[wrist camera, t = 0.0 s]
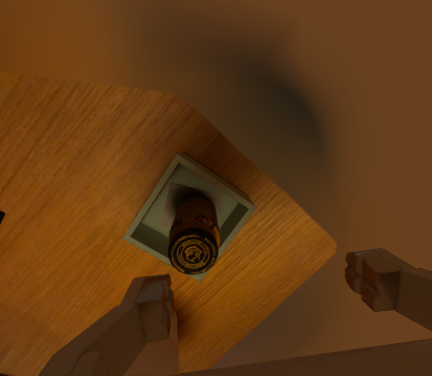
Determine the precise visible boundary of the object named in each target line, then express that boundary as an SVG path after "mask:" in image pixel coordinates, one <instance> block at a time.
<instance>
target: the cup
mask: <svg viewBox="0 0 432 376" xmlns="http://www.w3.org/2000/svg"><path fill="white" fill-rule="evenodd" d="M170 320H171V328H170V333H169V339H167V340H161V341H155V342H149V343H146V346H145V347H144V348H143V350H142V351H141V352H140V354H139V355H138V356H137V358H136V359H135V360H134V362H133V363H132V364H131V366H130V367H129V368H128V370H127V371H126V372H125V374H124V375H123V376H166V375H173V374H179V355H178V332H177V315H176V313H175V311H174V310H173V315H172V316H171V317H170Z"/></svg>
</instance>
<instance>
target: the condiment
mask: <svg viewBox="0 0 432 376" xmlns="http://www.w3.org/2000/svg"><path fill="white" fill-rule="evenodd" d="M223 199H224V197H223V196H220V195H216V194H213V193H209V192H206V191H202V190H199V189H195V188H191V187H188V186H184V185H181V184H177V183H173V182H170V186H169V190H168V194H167V198H166V202H165V205H164V209H163V213H162V217H161V220H160V224H159V225H161V226H165V227H169V228H171V229H170V231H169V237H168V241H169V246H168V258H169V260H170V262H171V265H172V266H173V267H175V268H176V269H177V270H178V271H179V272H182V273H184V274H189V275H197V274H202V273H205V272H206V271H208V270H209V269H210V268H211V267H212V266H213V265H214V263H215V262H216V260H217V257H218V253H219V252H218V250H219V249H218V247H219V244H220V233H219V232H220V231H219V226H218V221H217V217H218V214H219V211H220V208H221V205H222V202H223Z"/></svg>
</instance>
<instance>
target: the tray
mask: <svg viewBox="0 0 432 376" xmlns="http://www.w3.org/2000/svg"><path fill="white" fill-rule="evenodd" d="M170 182H173V183H177V184H181V185H184V186H188V187H191V188H195V189H199V190H202V191H206V192H209V193H213V194H216V195H220V196H223V197H224V199H223V202H222V205H221V208H220V211H219V214H218V217H217V221H218V226H219V231H220V232H219V233H220V244H219V247H218V249H219V250H218V252H219V253H218V257H217V259H218V258H219V257H220V255H221V254H222V253H223V252H224V250H225V249H226V248H227V246H228V245H229V244H230V242H231V241H232V240H233V238H234V237H235V236H236V234H237V233H238V232H239V230H240V229H241V228H242V226H243V225H244V224H245V222H246V221H247V220H248V219H249V217H250V216H251V215H252V213H253V212H254V210H255V209H256V208H257V207H256V206H255V205H254V203H253V202H252V201H251V200H250V198H249V197H248V196H247V195H245V194H244V193H242V192H241V191H239V190H238V189H236V188H235V187H233V186H232V185H230V184H229V183H227V182H226V181H225V180H223V179H222V178H220V177H219V176H217V175H216V174H214V173H213V172H211V171H210V170H208V169H207V168H205V167H204V166H202V165H201V164H199V163H198V162H196V161H195V160H193V159H192V158H191V157H189V156H188V155H186V154H185V153H183V152H182V151H181V152H179V153H178V154H176V156H175V157H174V159H173V160H172V162H171V163H170V165H169V167H168V168H167V170H166V171H165V173H164V174H163V176H162V177H161V179H160V180H159V182H158V184H157V185H156V187H155V188H154V190H153V191H152V193H151V194H150V196H149V197H148V199H147V201H146V202H145V204H144V205H143V207H142V208H141V210H140V211H139V213H138V214H137V216H136V218H135V219H134V221H133V222H132V224H131V225H130V227H129V228H128V230H127V231H126V233H125V235H124V236H123V238H122V239H124V240H126V241H127V242H129V243H131V244H133V245H135V246H136V247H138V248H140V249H142V250H144V251H145V252H147V253H149V254H151V255H153V256H155V257H156V258H158V259H160V260H162V261H164V262H165V263H167V264H169V265H171V262H170V260H169V258H168V246H169V241H168V237H169V231H170V229H171V228H169V227H165V226H161V225H159V224H160V220H161V217H162V213H163V209H164V205H165V202H166V198H167V194H168V190H169V186H170ZM216 261H217V260H216ZM171 266H172V265H171ZM174 268H175V267H174ZM210 269H211V268H210ZM210 269H209V270H210ZM209 270H208V271H209ZM208 271H206V272H205V273H202V274H197V275H189V274H187V275H189V276H191V277H193V278H194V279H196V280H198V281H200V282H201V281H202V279H203V278H204V277H205V275H206V274H207V273H208Z"/></svg>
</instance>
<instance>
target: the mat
mask: <svg viewBox="0 0 432 376" xmlns="http://www.w3.org/2000/svg"><path fill="white" fill-rule="evenodd" d="M4 215H5V213H3V212H1V211H0V223H1V221H2V219H3V217H4Z"/></svg>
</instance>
